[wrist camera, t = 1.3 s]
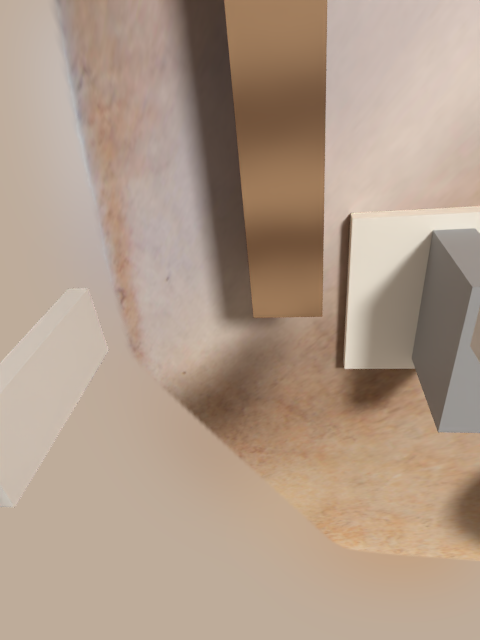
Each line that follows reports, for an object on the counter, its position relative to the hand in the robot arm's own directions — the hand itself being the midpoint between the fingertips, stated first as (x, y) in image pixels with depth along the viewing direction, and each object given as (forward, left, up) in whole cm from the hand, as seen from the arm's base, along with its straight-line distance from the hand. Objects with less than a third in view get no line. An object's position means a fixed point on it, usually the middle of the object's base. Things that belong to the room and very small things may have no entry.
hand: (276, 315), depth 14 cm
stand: (+8, +10, -14) cm, 19 cm away
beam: (-5, 0, -15) cm, 15 cm away
